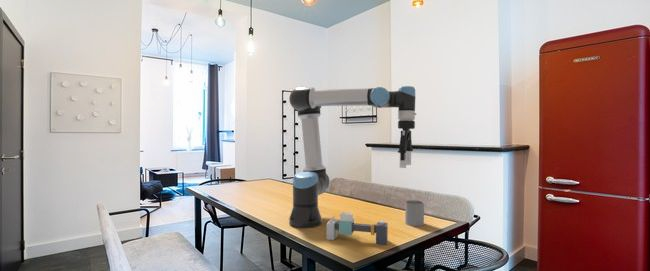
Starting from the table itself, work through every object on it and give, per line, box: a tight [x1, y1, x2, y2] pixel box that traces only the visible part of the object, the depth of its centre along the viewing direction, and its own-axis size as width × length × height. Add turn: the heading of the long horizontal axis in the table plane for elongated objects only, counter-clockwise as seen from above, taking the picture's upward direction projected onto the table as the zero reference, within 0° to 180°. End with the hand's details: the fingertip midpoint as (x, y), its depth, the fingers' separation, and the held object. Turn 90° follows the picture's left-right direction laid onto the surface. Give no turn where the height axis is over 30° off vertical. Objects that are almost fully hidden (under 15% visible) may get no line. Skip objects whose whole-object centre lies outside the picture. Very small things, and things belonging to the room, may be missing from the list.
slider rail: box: [326, 216, 389, 246], centre depth 127 cm, size 24×6×8 cm, turn 74°
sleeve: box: [338, 211, 355, 236], centre depth 128 cm, size 5×5×8 cm
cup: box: [404, 199, 425, 227], centre depth 149 cm, size 8×8×10 cm
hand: (405, 166), depth 148 cm, fingers open, 13 cm apart
